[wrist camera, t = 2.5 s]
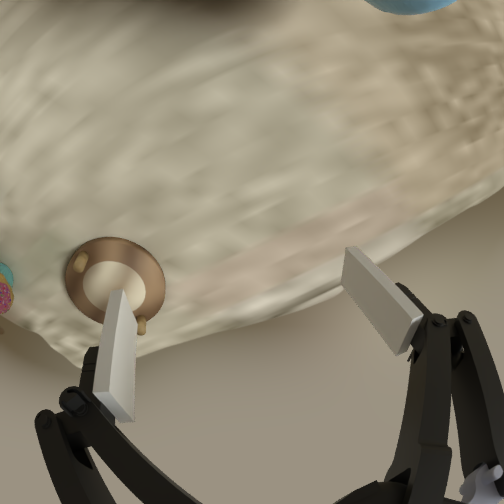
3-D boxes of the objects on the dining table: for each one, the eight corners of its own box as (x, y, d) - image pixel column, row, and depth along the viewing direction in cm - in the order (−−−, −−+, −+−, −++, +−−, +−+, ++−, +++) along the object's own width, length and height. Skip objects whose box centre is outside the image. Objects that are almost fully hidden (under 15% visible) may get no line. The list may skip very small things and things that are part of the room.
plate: (59, 299, 38) (52, 317, 35) (84, 218, 33) (74, 234, 30) (143, 332, 46) (142, 351, 42) (183, 264, 41) (184, 282, 37)
